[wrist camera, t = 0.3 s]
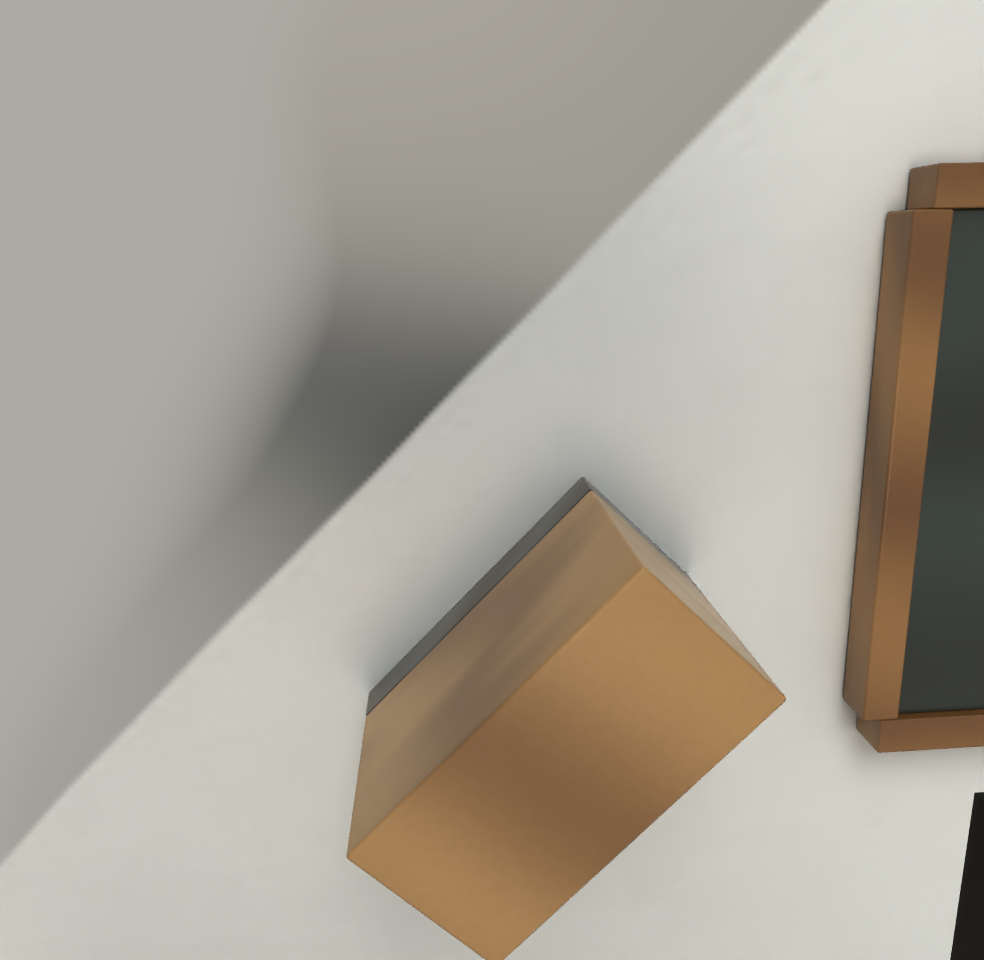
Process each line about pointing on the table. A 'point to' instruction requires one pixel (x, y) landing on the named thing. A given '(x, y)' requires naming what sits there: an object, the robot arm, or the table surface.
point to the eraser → (546, 725)
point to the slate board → (924, 479)
